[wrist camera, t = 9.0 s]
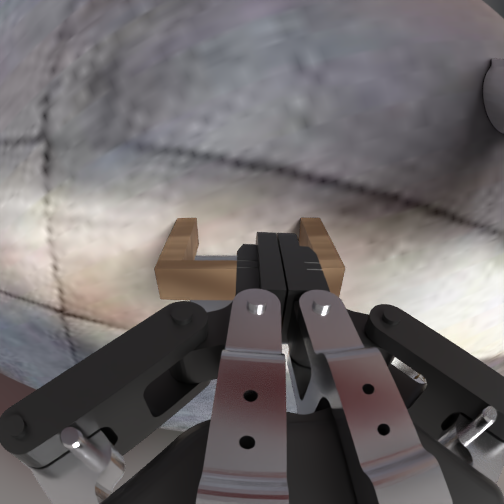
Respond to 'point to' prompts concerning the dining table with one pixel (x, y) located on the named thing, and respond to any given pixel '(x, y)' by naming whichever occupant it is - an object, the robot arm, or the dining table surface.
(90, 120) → the dining table surface
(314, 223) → the bridge
